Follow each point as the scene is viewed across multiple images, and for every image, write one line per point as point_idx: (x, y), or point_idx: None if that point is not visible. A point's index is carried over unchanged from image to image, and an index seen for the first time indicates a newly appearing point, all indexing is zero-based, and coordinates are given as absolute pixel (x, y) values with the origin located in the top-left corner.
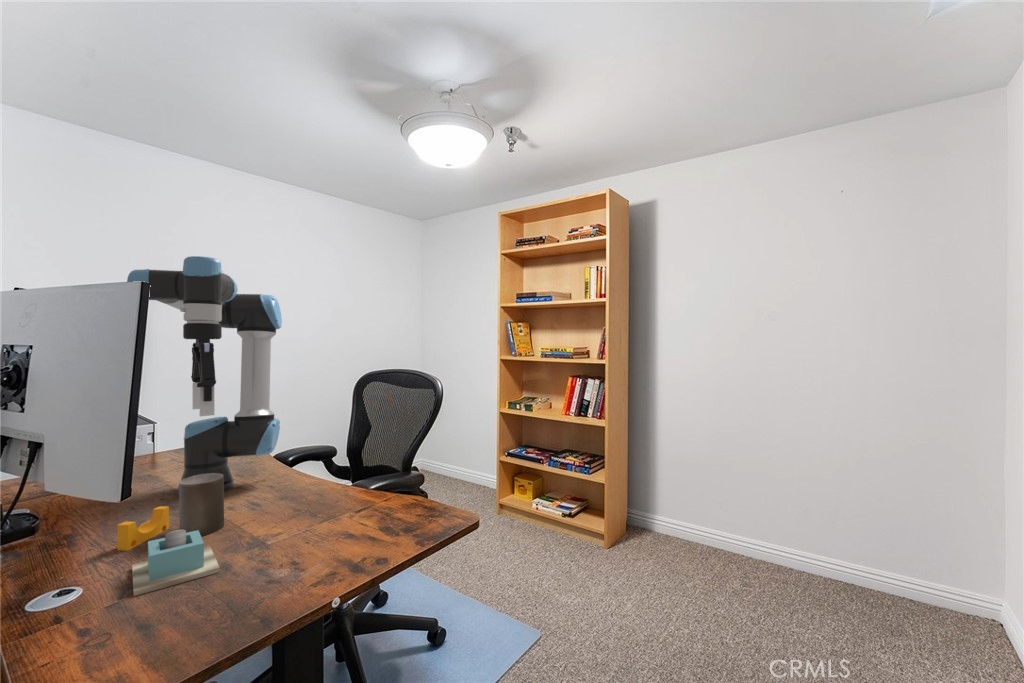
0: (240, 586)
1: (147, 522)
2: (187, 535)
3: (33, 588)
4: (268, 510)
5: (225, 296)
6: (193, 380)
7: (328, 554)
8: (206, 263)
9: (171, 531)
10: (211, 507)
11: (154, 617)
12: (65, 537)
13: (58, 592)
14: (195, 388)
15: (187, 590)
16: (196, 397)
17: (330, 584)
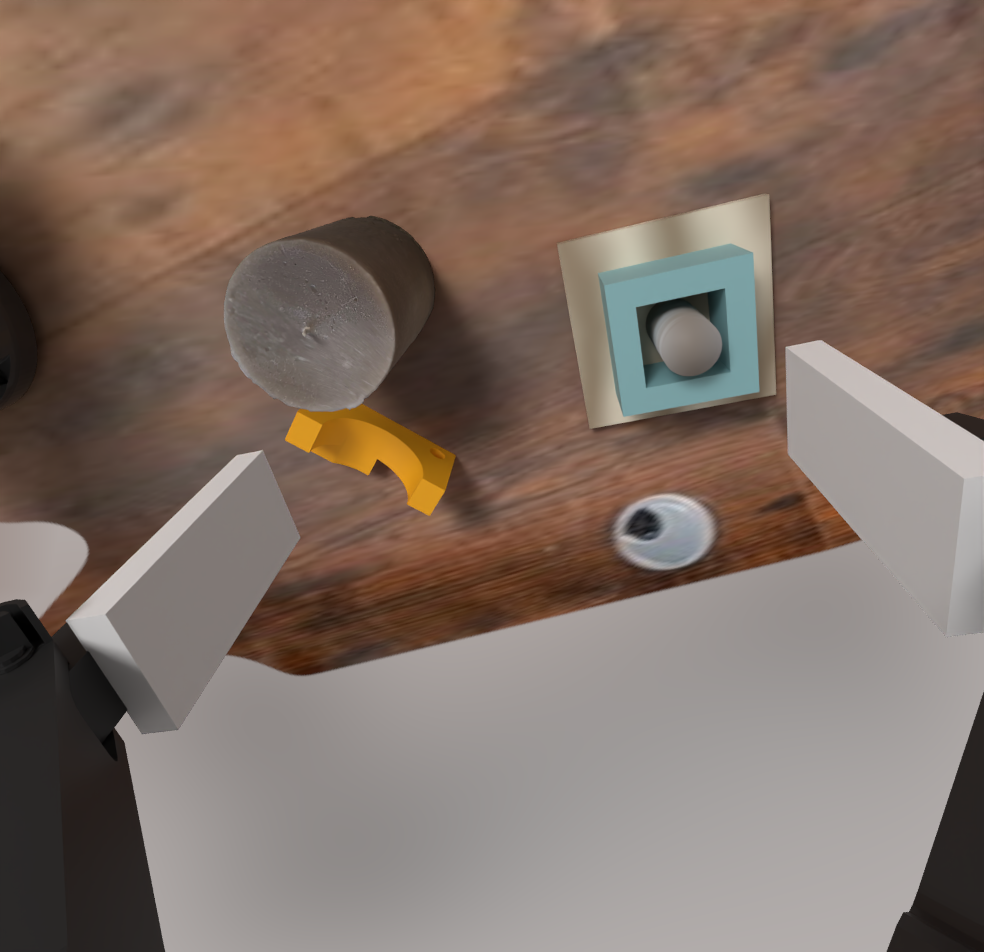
0: (919, 118)
1: (322, 449)
2: (636, 313)
3: (582, 579)
4: (221, 43)
5: None
6: (123, 753)
7: None
8: None
9: (666, 362)
10: (405, 266)
11: (932, 324)
12: (279, 601)
13: (636, 534)
14: (199, 654)
15: (830, 270)
16: (245, 578)
17: None
